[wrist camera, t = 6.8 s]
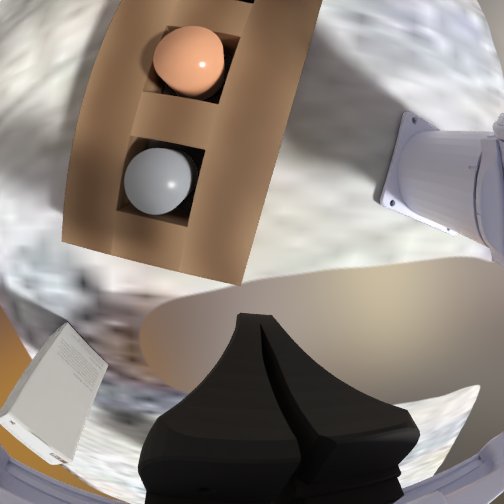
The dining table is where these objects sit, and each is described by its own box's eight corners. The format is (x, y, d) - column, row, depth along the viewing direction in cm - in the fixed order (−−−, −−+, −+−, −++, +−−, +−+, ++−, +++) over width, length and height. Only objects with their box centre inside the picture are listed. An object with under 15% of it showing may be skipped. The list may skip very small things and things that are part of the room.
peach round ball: (231, 57, 15) (232, 32, 11) (216, 105, 16) (211, 91, 12) (179, 48, 15) (166, 22, 11) (163, 95, 16) (144, 80, 12)
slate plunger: (203, 155, 18) (195, 155, 14) (191, 206, 19) (180, 221, 15) (152, 144, 17) (131, 142, 13) (142, 195, 19) (119, 207, 14)
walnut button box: (319, -20, 14) (335, -44, 10) (238, 261, 21) (240, 286, 17) (175, -46, 12) (167, -72, 8) (87, 225, 19) (61, 241, 15)
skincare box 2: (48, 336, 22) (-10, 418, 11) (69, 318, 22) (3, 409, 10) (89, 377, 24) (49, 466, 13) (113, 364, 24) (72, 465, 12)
